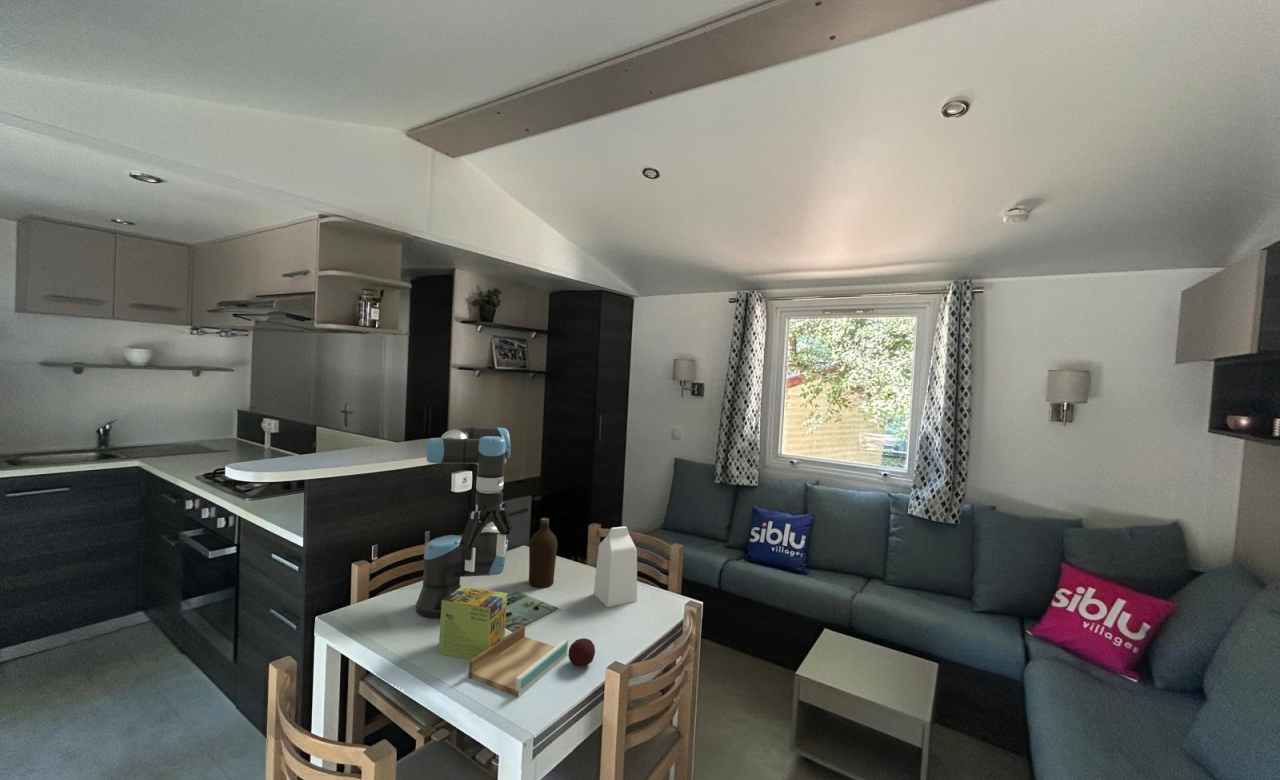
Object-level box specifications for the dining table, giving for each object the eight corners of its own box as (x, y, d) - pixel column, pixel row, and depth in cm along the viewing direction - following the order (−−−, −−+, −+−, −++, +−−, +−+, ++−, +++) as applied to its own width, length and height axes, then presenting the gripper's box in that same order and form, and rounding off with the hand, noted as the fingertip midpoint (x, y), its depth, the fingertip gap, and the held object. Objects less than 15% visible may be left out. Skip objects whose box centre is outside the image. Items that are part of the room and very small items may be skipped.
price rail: (514, 695, 125) (515, 677, 125) (563, 654, 145) (564, 639, 145) (519, 697, 125) (520, 679, 125) (567, 655, 145) (568, 640, 145)
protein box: (487, 663, 139) (491, 607, 139) (437, 654, 142) (440, 599, 142) (505, 644, 149) (508, 592, 149) (458, 636, 152) (460, 585, 152)
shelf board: (468, 677, 132) (468, 671, 132) (521, 640, 152) (521, 635, 152) (518, 697, 125) (518, 691, 125) (566, 655, 145) (567, 650, 145)
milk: (607, 606, 178) (611, 533, 177) (593, 594, 188) (597, 524, 187) (636, 601, 184) (641, 530, 183) (621, 589, 194) (625, 521, 193)
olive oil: (551, 590, 189) (555, 523, 189) (523, 587, 189) (527, 521, 189) (557, 579, 200) (561, 516, 199) (531, 576, 200) (534, 514, 200)
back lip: (468, 677, 132) (469, 660, 132) (521, 640, 152) (522, 625, 152) (471, 678, 131) (472, 661, 131) (524, 641, 151) (525, 626, 151)
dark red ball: (597, 660, 144) (598, 635, 144) (589, 675, 136) (590, 649, 136) (572, 655, 145) (574, 631, 145) (563, 670, 138) (565, 644, 138)
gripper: (470, 500, 133) (465, 580, 133) (525, 484, 156) (521, 552, 156) (448, 496, 136) (443, 574, 136) (505, 481, 159) (502, 548, 159)
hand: (485, 563), depth 146 cm, fingers open, 13 cm apart
